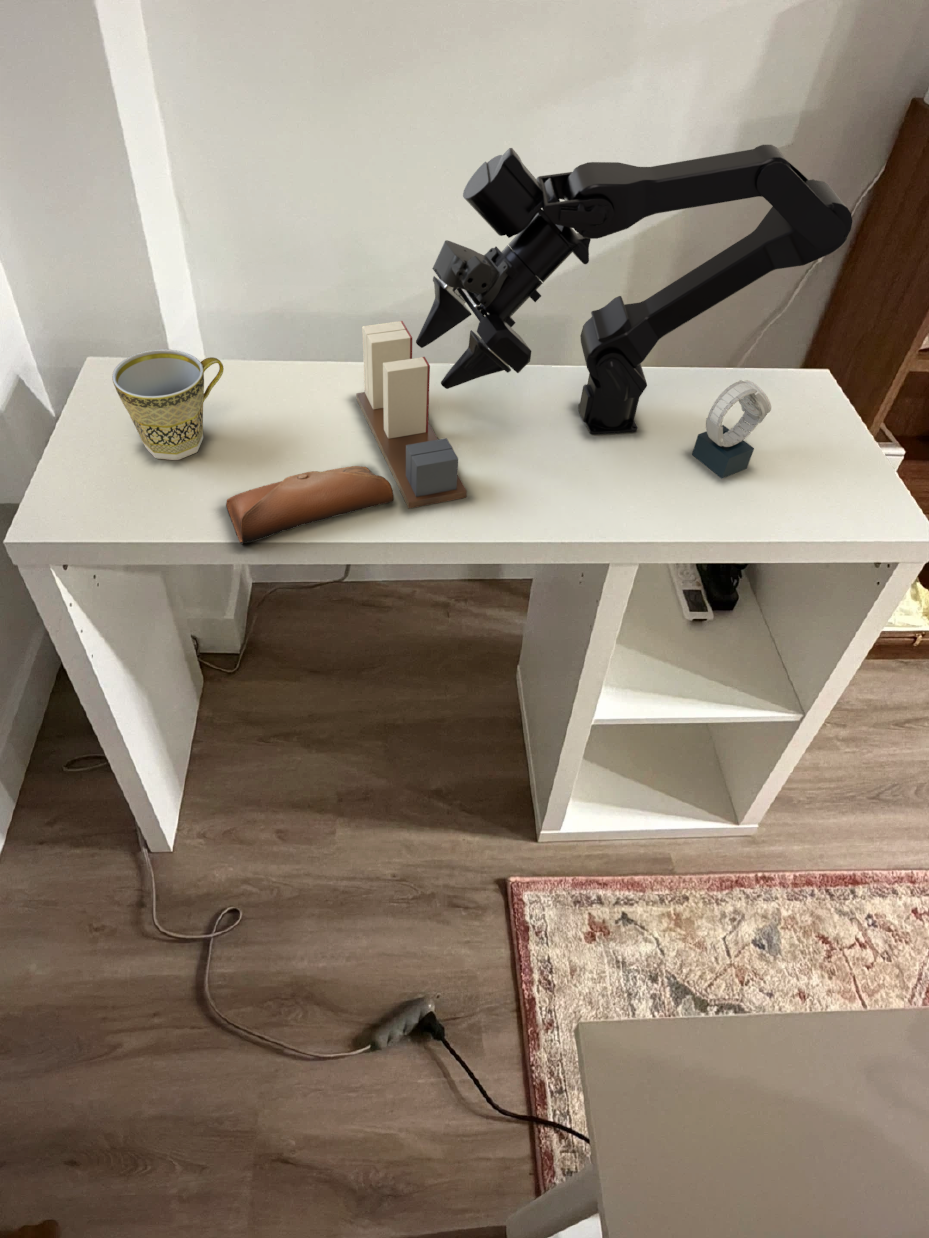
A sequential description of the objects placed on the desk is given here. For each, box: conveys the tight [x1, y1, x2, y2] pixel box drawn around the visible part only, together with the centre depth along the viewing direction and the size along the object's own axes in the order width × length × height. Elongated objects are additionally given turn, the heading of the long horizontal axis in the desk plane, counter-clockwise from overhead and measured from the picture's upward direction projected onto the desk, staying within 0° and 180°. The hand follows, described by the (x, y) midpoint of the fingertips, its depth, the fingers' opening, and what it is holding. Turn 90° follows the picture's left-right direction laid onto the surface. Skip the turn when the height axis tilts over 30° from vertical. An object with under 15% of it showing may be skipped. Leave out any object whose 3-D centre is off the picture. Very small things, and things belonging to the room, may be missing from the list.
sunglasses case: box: [225, 465, 395, 545], centre depth 98 cm, size 18×7×7 cm, turn 117°
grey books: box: [406, 437, 459, 497], centre depth 100 cm, size 5×4×4 cm
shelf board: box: [355, 391, 468, 509], centre depth 107 cm, size 7×23×1 cm, turn 20°
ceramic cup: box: [111, 348, 224, 461], centre depth 102 cm, size 13×10×10 cm
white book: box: [383, 356, 431, 439], centre depth 105 cm, size 5×2×10 cm, turn 110°
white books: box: [361, 320, 413, 409], centre depth 109 cm, size 5×4×10 cm
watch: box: [691, 379, 772, 479], centre depth 105 cm, size 6×8×11 cm
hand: (430, 365), depth 102 cm, fingers open, 9 cm apart
